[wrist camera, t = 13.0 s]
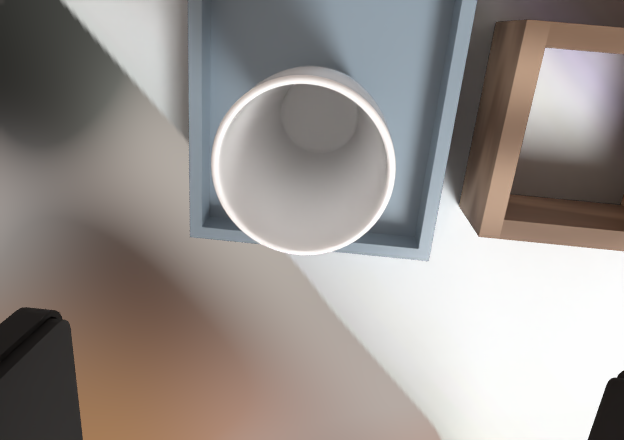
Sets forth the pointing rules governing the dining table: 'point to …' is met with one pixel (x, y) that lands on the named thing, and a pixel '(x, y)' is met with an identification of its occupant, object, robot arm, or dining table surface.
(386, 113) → the tray
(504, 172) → the frame
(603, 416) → the robot arm
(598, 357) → the dining table surface
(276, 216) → the drinking glass
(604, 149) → the dining table surface
